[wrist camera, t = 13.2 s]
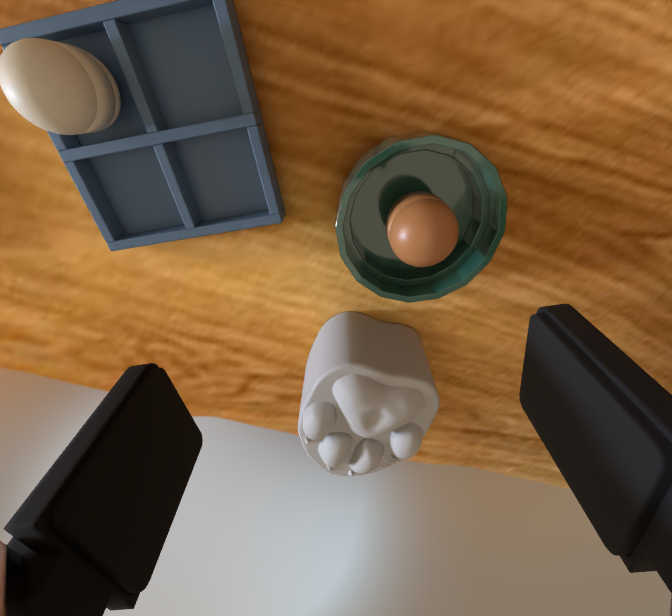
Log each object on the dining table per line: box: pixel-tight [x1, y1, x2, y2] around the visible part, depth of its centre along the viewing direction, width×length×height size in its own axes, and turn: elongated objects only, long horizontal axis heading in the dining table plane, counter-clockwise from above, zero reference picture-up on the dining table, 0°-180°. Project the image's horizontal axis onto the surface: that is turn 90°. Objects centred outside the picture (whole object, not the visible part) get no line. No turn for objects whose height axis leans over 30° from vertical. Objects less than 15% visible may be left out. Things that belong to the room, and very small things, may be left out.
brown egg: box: [386, 191, 459, 267], centre depth 23 cm, size 4×4×6 cm
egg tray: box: [0, 0, 286, 251], centre depth 23 cm, size 13×13×2 cm
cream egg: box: [0, 38, 121, 135], centre depth 19 cm, size 4×4×6 cm
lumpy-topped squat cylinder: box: [298, 311, 439, 476], centre depth 31 cm, size 10×13×9 cm
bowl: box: [335, 130, 508, 302], centre depth 24 cm, size 11×11×4 cm
